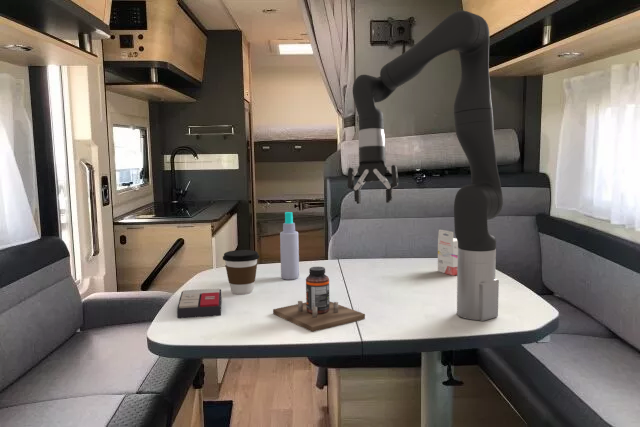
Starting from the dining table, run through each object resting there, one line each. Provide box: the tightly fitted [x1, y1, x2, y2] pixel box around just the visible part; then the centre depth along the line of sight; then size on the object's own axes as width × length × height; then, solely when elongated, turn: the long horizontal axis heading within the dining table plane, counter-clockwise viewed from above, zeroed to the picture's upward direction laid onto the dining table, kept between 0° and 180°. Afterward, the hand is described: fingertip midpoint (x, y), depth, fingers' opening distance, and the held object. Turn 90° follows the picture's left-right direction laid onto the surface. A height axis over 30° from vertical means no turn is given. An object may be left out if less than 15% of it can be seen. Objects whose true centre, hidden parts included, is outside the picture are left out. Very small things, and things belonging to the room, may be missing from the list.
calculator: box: [176, 288, 223, 319], centre depth 147 cm, size 11×4×15 cm
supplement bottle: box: [305, 266, 330, 314], centre depth 139 cm, size 6×6×11 cm
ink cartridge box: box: [437, 229, 458, 277], centre depth 185 cm, size 9×5×15 cm, turn 25°
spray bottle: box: [279, 211, 300, 281], centre depth 180 cm, size 6×6×22 cm
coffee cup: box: [222, 249, 260, 295], centre depth 164 cm, size 11×11×12 cm
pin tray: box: [272, 300, 366, 333], centre depth 139 cm, size 18×16×4 cm
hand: (373, 203), depth 154 cm, fingers open, 8 cm apart
